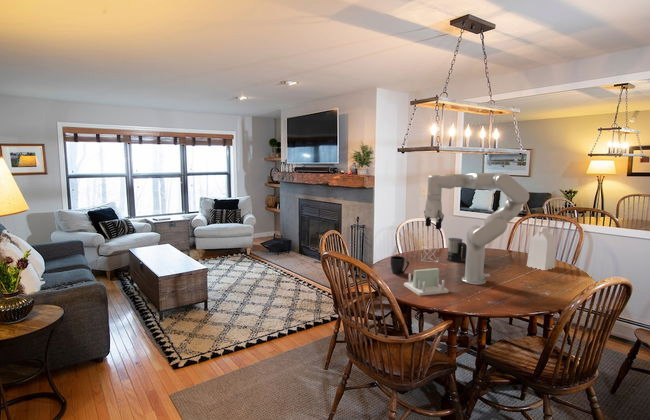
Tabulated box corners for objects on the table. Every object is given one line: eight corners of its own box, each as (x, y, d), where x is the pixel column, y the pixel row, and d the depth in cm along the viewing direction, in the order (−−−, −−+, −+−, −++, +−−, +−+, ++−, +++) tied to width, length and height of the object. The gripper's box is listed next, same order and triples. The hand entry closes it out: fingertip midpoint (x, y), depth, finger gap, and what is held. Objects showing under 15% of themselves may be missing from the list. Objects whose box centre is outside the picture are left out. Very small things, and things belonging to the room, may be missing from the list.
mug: (403, 277, 218) (403, 261, 217) (387, 272, 227) (387, 257, 226) (412, 275, 223) (412, 259, 222) (396, 270, 233) (396, 255, 231)
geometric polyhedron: (421, 257, 263) (421, 244, 262) (437, 258, 261) (438, 245, 259) (421, 262, 251) (421, 249, 250) (438, 263, 249) (439, 250, 247)
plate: (415, 288, 197) (415, 271, 196) (413, 286, 199) (413, 270, 197) (438, 285, 201) (439, 269, 200) (436, 284, 203) (437, 268, 202)
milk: (536, 263, 251) (540, 224, 248) (554, 268, 242) (558, 227, 238) (526, 266, 245) (530, 226, 241) (544, 270, 235) (548, 229, 232)
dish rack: (431, 282, 210) (431, 271, 209) (448, 292, 195) (449, 280, 194) (403, 285, 205) (404, 273, 204) (419, 295, 190) (419, 283, 189)
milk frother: (444, 260, 257) (445, 239, 254) (454, 256, 268) (455, 235, 266) (465, 264, 247) (466, 242, 245) (474, 260, 258) (476, 238, 256)
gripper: (419, 196, 218) (418, 225, 220) (437, 199, 202) (436, 230, 204) (430, 195, 220) (429, 224, 223) (449, 198, 204) (448, 229, 207)
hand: (433, 227), depth 213 cm, fingers open, 9 cm apart
